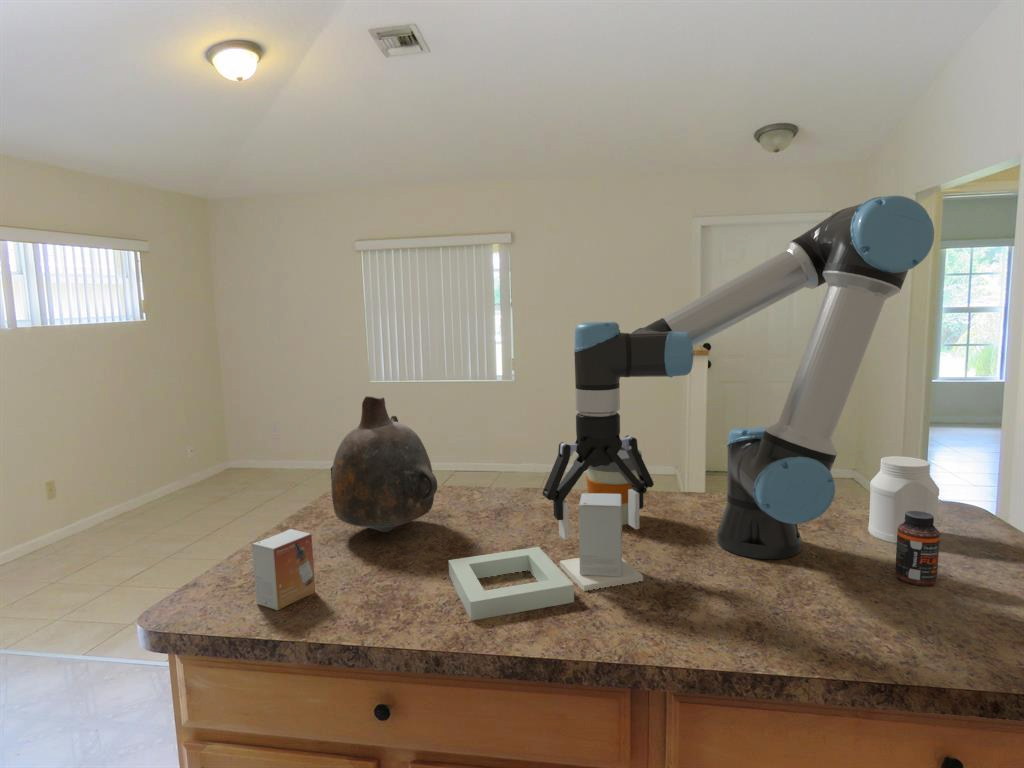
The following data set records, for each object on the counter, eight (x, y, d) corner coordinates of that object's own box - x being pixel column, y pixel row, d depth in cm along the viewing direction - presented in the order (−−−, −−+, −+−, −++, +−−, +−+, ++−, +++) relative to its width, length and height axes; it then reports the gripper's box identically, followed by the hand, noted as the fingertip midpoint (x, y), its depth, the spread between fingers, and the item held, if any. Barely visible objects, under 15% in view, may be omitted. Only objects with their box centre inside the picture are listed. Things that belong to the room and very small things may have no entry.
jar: (922, 527, 129) (926, 455, 127) (945, 545, 120) (949, 468, 118) (861, 525, 131) (864, 454, 129) (879, 542, 122) (882, 467, 120)
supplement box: (622, 577, 108) (621, 506, 106) (578, 575, 109) (577, 504, 108) (622, 560, 115) (622, 492, 113) (582, 558, 116) (580, 491, 115)
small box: (277, 612, 102) (272, 549, 100) (255, 604, 105) (250, 543, 103) (316, 592, 108) (312, 533, 107) (295, 585, 111) (290, 527, 110)
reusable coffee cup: (576, 522, 138) (574, 455, 136) (599, 506, 149) (598, 443, 147) (630, 532, 132) (630, 461, 130) (651, 514, 142) (650, 448, 140)
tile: (614, 557, 119) (614, 552, 119) (643, 581, 109) (643, 575, 108) (559, 565, 116) (559, 560, 116) (583, 591, 105) (583, 585, 105)
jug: (445, 512, 148) (439, 385, 144) (437, 548, 126) (430, 399, 123) (340, 517, 147) (331, 389, 143) (314, 553, 126) (303, 404, 122)
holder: (538, 562, 118) (538, 546, 117) (574, 602, 102) (573, 584, 101) (449, 576, 113) (448, 560, 113) (471, 620, 97) (470, 602, 96)
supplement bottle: (923, 590, 102) (927, 522, 101) (887, 576, 107) (890, 512, 106) (944, 581, 105) (948, 515, 103) (908, 569, 110) (911, 506, 109)
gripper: (651, 403, 116) (651, 516, 118) (522, 414, 109) (525, 533, 111) (673, 409, 109) (673, 529, 111) (536, 422, 101) (540, 549, 104)
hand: (599, 531), depth 111 cm, fingers open, 13 cm apart
